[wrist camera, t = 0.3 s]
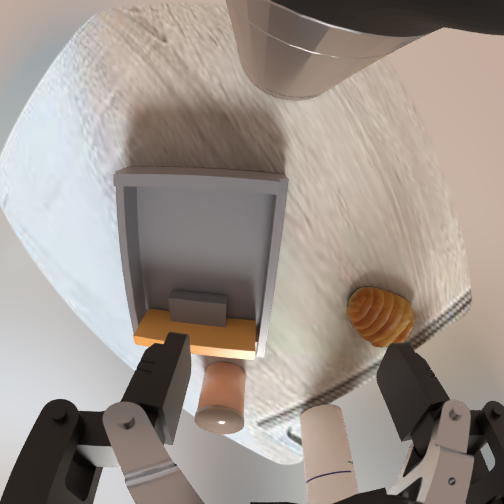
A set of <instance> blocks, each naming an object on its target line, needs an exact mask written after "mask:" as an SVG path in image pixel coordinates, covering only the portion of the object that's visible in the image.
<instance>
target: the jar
mask: <svg viewBox="0 0 504 504" xmlns="http://www.w3.org/2000/svg"><path fill="white" fill-rule="evenodd" d="M245 380H246V375H245V372H244V371H243V370H242V369H241V368H240V367H239V366H237V365H235V364H232V363H228V362H217V363H213V364H211V365H209V366H208V367H207V368H206V370H205V373H204V378H203V383H202V388H201V393H200V398H199V403H198V408H197V411H196V414H195V423H196V424H197V425H198V426H199V427H200V428H202V429H204V430H206V431H209V432H212V433H217V434H232V433H236V432H238V431H240V430H241V429H242V428H243V427H244V399H245Z"/></svg>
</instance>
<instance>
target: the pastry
mask: <svg viewBox="0 0 504 504" xmlns="http://www.w3.org/2000/svg"><path fill="white" fill-rule="evenodd" d="M346 315H347V317H348V318H349V320H350V321H351V323H352V325H353V327H354V328H355V329H356V330H357V331H358V332H359V334H360V335H361V337H363V339H365V340H367V341H369V342H372V345H373V346H375V347H381V348H382V347H388V346H389V345H390V344H391V343H402V342H404V341H405V340H406V339H407V338H408V337H409V335H410V332H411V331H412V329H413V327H414V323H415V313H414V311H413V309H412V308H411V305H410V303H409V302H408V301H407V300H405V299H404V298H402V297H401V296H399V295H396V294H394V293H391V292H389V291H385V290H382V289H378V288H374V287H362V288H360V289H358V290H356V292H355V293H354V294H353V295H352V296H351V297H350V299H349V301H348V306H347V314H346Z"/></svg>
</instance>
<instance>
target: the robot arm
mask: <svg viewBox="0 0 504 504" xmlns="http://www.w3.org/2000/svg"><path fill="white" fill-rule="evenodd" d="M226 3H227V7H228V11H229V15H230V19H231V23H232V27H233V31H234V35H235V39H236V43H237V47H238V52H239V56H240V60H241V64H242V66H243V69H244V71H245V73H246V75H247V76H248V77H249V79H250V80H251V81H252V82H253V83H254V84H255V85H256V86H257V87H258V88H260V89H261V90H263V91H264V92H266V93H268V94H270V95H272V96H275V97H277V98H282V99H287V100H304V99H310V98H313V97H316V96H318V95H320V94H322V93H324V92H325V91H327V90H328V89H330V88H332V87H334V86H335V85H337V84H339V83H340V82H342V81H343V80H345V79H347V78H348V77H350V76H352V75H353V74H355V73H357V72H358V71H360V70H362V69H363V68H365V67H367V66H369V65H370V64H372V63H374V62H376V61H377V60H379V59H381V58H383V57H385V56H387V55H388V54H390V53H392V52H394V51H395V50H397V49H399V48H401V47H403V46H405V45H407V44H409V43H411V42H413V41H415V40H417V39H419V38H421V37H423V36H425V35H427V34H430V33H431V32H434V31H436V30H438V29H441V28H443V27H447V28H453V29H459V30H464V31H470V32H477V33H484V34H491V35H504V0H226ZM430 369H431V368H430V367H429V365H428V364H427V362H426V360H425V359H423V358H422V357H421V356H420V355H419V354H417V353H415V352H414V350H413V348H412V347H411V345H410V344H409V343H407V342H402V343H391V344H390V345H389V346H388V348H387V351H386V353H385V355H384V358H383V360H382V362H381V364H380V366H379V369H378V371H377V383H378V386H379V388H380V390H381V393H382V395H383V398H384V400H385V402H386V405H387V407H388V409H389V412H390V414H391V417H392V419H393V422H394V424H395V427H396V429H397V432H398V434H399V437H400V439H401V441H407V440H410V439H412V440H413V443H412V444H411V446H410V448H409V450H408V453H407V456H406V458H405V461H404V464H403V466H402V469H401V471H400V473H399V476H398V478H397V480H396V482H395V484H394V485H393V487H392V488H391V489H390V490H389V491H388V493H386V489H385V488H381V489H377V490H373V491H369V492H365V493H360V494H355V495H353V496H350V497H348V498H346V499H343V500H341V501H338V502H335V503H333V504H465V502H466V504H504V406H503V405H501V404H500V403H499V402H496V401H490V402H488V403H486V405H485V406H484V408H483V409H482V410H476V411H475V410H469V409H468V407H467V406H466V405H465V404H464V403H463V402H460V401H458V400H450V399H449V397H448V395H447V394H446V392H445V390H444V389H443V387H442V385H441V384H440V382H439V381H438V379H437V378H436V377H435V374H434V373H433V372H432V370H430ZM190 375H191V351H190V337H189V334H183V333H175V332H169V333H168V335H167V337H166V339H165V342H164V344H160V343H154V344H153V345H151V346H150V347H149V348H148V349H146V350H145V352H144V354H143V356H142V358H141V362H139V364H138V366H137V370H135V373H134V375H133V377H132V379H131V381H130V383H129V385H128V387H127V389H126V392H125V394H124V396H123V398H122V400H121V401H120V402H118V403H115V404H113V405H111V406H110V407H108V408H107V409H106V411H102V412H92V411H78V410H77V408H76V406H75V405H74V404H73V403H72V402H70V401H68V400H65V399H56V400H53V401H50V402H49V403H47V404H46V405H45V406H44V408H43V409H42V411H41V413H40V415H39V417H38V418H37V420H36V422H35V424H34V426H33V428H32V430H31V432H30V434H29V436H28V438H27V440H26V442H25V444H24V446H23V448H22V450H21V452H20V454H19V456H18V459H17V461H16V463H15V465H14V468H13V470H12V472H11V475H10V477H9V480H8V482H7V485H6V487H5V490H4V492H3V495H2V498H1V501H0V504H93V501H94V497H95V493H96V490H97V486H98V482H99V479H100V476H101V472H102V469H103V467H121V470H122V472H123V474H124V477H125V483H126V485H127V488H128V490H129V492H130V494H131V496H132V498H133V499H134V501H135V503H136V504H204V502H203V501H202V500H201V498H200V497H199V496H198V494H197V493H196V492H195V490H194V489H193V487H192V486H191V485H190V483H189V482H188V481H187V479H186V477H185V476H184V475H183V473H182V472H181V470H180V469H179V467H178V466H177V465H176V464H174V463H173V461H172V459H171V458H170V456H169V455H168V453H167V451H166V450H165V448H164V444H169V445H173V442H174V438H175V434H176V430H177V426H178V422H179V418H180V414H181V410H182V406H183V402H184V399H185V395H186V391H187V387H188V383H189V380H190ZM487 442H488V444H489V446H490V449H491V451H492V453H493V455H494V457H495V466H494V468H493V469H492V470H491V471H490V472H489V470H488V468H487V466H486V463H485V460H484V458H483V456H482V453H481V451H480V449H481V448H482V447H483V446H484V445H485V444H486V443H487ZM250 504H296V503H289V502H275V503H274V502H269V503H266V502H261V503H258V502H251V503H250Z"/></svg>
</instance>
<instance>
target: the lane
mask: <svg viewBox="0 0 504 504" xmlns="http://www.w3.org/2000/svg"><path fill="white" fill-rule="evenodd" d="M288 180H289V179H288V178H287V176H286V175H285V174H278V173H268V172H257V171H246V170H232V169H217V168H196V167H157V166H134V167H127V168H124V169H121V170H118V171H116V174H114V186H116V202H117V219H118V231H119V242H120V252H121V260H122V268H123V276H124V282H125V289H126V295H127V301H128V307H129V312H130V317H131V322H132V327H133V332H134V333H135V331H136V329H137V328H138V326H139V324H140V322H141V320H142V319H143V317H144V315H145V313H146V312H147V310H148V308H150V309H157V310H164V311H170V310H169V299H168V298H169V296H170V294H171V292H172V290H177V291H186V292H195V293H204V294H214V295H224V296H228V305H227V318H233V319H244V320H256V341H255V349H257V357H262V358H264V353H265V347H266V341H267V335H268V328H269V322H270V315H271V309H272V302H273V295H274V288H275V281H276V274H277V267H278V260H279V252H280V245H281V237H282V230H283V222H284V214H285V206H286V197H287V189H288Z"/></svg>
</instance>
